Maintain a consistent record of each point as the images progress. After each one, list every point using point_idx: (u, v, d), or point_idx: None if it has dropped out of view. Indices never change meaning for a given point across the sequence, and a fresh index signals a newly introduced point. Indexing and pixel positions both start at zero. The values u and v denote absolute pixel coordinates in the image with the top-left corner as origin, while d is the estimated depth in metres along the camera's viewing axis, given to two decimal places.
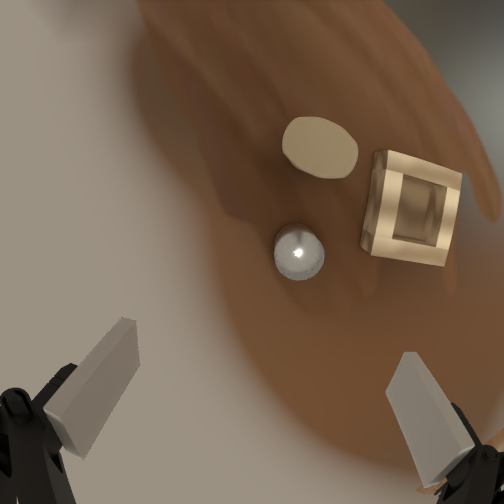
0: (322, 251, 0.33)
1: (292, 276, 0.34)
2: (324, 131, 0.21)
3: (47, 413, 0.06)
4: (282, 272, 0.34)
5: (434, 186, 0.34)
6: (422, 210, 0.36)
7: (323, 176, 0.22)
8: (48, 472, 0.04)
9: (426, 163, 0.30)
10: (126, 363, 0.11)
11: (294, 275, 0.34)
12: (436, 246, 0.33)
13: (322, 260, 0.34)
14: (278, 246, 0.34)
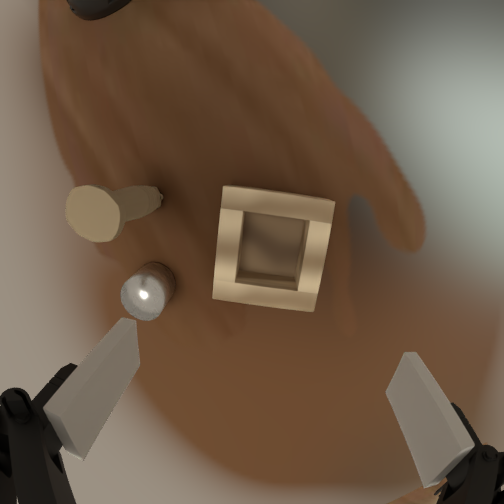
0: (158, 294, 0.34)
1: (140, 317, 0.35)
2: (92, 198, 0.22)
3: (47, 413, 0.06)
4: (131, 314, 0.35)
5: None
6: (293, 245, 0.37)
7: (95, 240, 0.23)
8: (48, 472, 0.04)
9: (276, 195, 0.31)
10: (126, 363, 0.11)
11: (142, 316, 0.35)
12: (298, 290, 0.33)
13: (161, 302, 0.34)
14: (121, 292, 0.34)
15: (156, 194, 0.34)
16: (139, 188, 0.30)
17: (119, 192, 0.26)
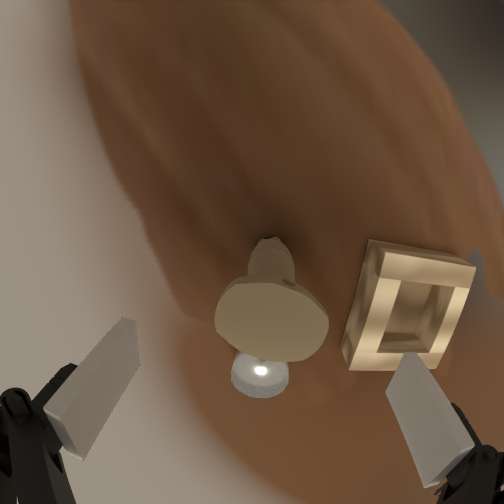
0: (284, 370, 0.27)
1: (257, 395, 0.28)
2: (278, 304, 0.15)
3: (47, 413, 0.06)
4: (245, 393, 0.28)
5: None
6: (420, 303, 0.30)
7: (274, 360, 0.16)
8: (48, 472, 0.04)
9: (433, 263, 0.24)
10: (126, 363, 0.11)
11: (259, 394, 0.28)
12: (430, 351, 0.27)
13: (286, 377, 0.27)
14: (232, 372, 0.28)
15: None
16: (284, 253, 0.23)
17: (283, 273, 0.19)
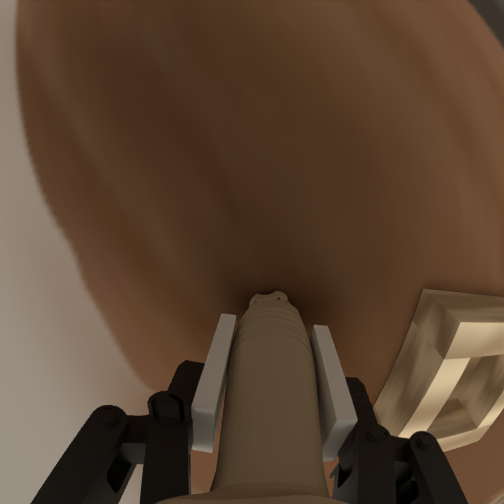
0: None
1: None
2: None
3: (195, 410, 0.08)
4: None
5: None
6: (472, 364, 0.18)
7: None
8: (188, 481, 0.05)
9: None
10: None
11: None
12: (478, 427, 0.15)
13: None
14: None
15: (304, 326, 0.15)
16: (297, 346, 0.11)
17: (297, 427, 0.07)
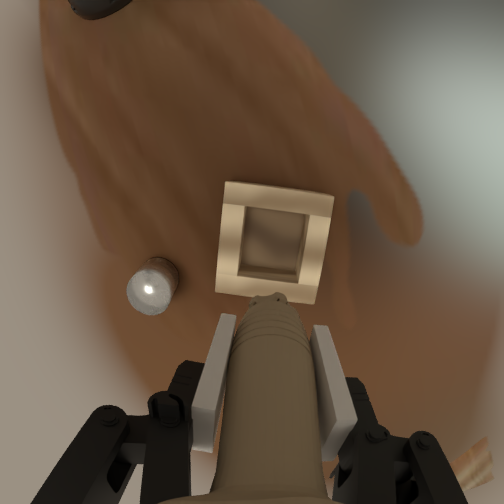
0: (151, 276, 0.34)
1: (161, 308, 0.35)
2: None
3: (195, 410, 0.08)
4: (154, 313, 0.36)
5: None
6: (294, 239, 0.38)
7: None
8: (188, 481, 0.05)
9: (276, 190, 0.32)
10: None
11: (161, 307, 0.35)
12: (299, 282, 0.34)
13: (159, 280, 0.34)
14: (132, 304, 0.35)
15: (303, 327, 0.15)
16: (296, 348, 0.11)
17: (297, 429, 0.07)
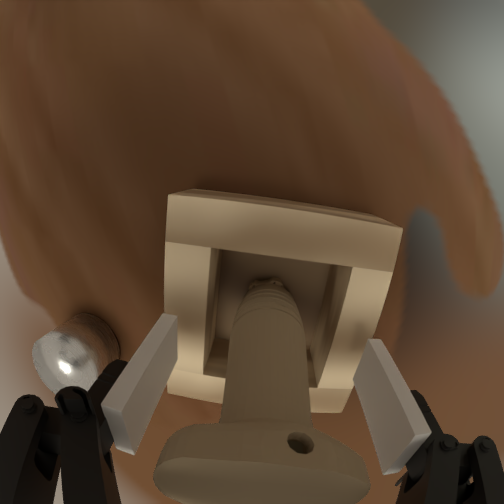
0: (38, 342, 0.16)
1: (83, 379, 0.17)
2: (275, 483, 0.05)
3: (105, 409, 0.07)
4: None
5: None
6: (311, 299, 0.20)
7: None
8: (102, 473, 0.05)
9: (282, 213, 0.14)
10: (169, 357, 0.12)
11: (80, 376, 0.17)
12: (319, 386, 0.17)
13: (45, 340, 0.16)
14: None
15: (296, 306, 0.17)
16: (289, 319, 0.14)
17: (288, 378, 0.09)
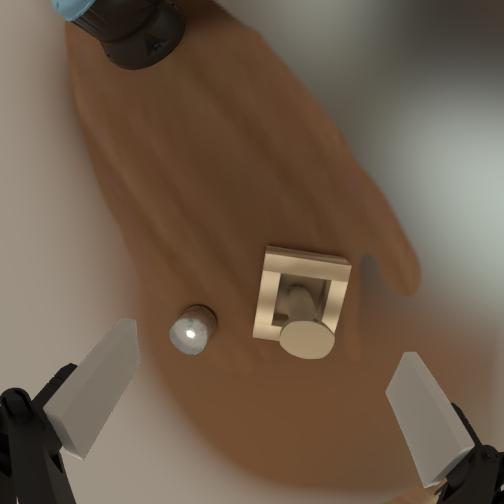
0: (170, 333, 0.43)
1: (195, 330, 0.41)
2: (311, 330, 0.31)
3: (47, 413, 0.06)
4: (201, 336, 0.42)
5: None
6: (316, 294, 0.45)
7: (307, 358, 0.32)
8: (48, 472, 0.04)
9: (307, 261, 0.39)
10: (126, 363, 0.11)
11: (194, 330, 0.41)
12: None
13: (172, 328, 0.42)
14: (198, 352, 0.43)
15: None
16: (308, 298, 0.39)
17: (310, 312, 0.35)
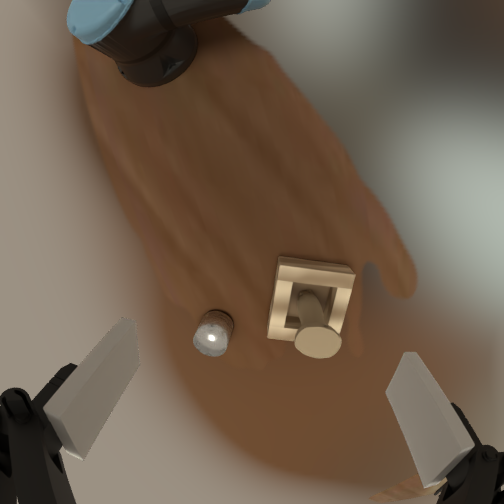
0: (196, 346, 0.48)
1: (210, 333, 0.46)
2: (321, 334, 0.36)
3: (47, 413, 0.06)
4: (218, 335, 0.46)
5: None
6: (322, 298, 0.50)
7: (317, 357, 0.37)
8: (48, 472, 0.04)
9: (316, 271, 0.44)
10: (126, 363, 0.11)
11: (209, 333, 0.46)
12: None
13: (194, 341, 0.48)
14: (225, 349, 0.47)
15: None
16: (317, 304, 0.44)
17: (320, 317, 0.40)
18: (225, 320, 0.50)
